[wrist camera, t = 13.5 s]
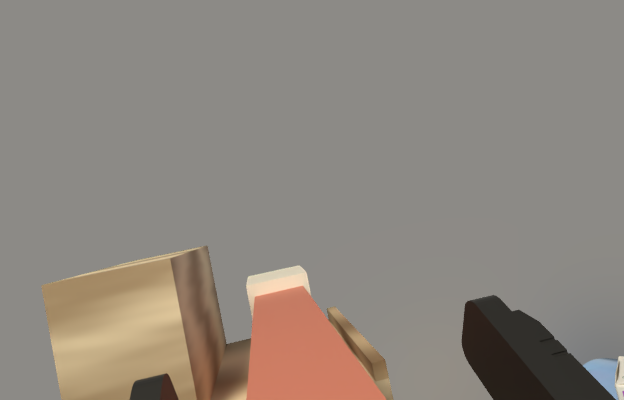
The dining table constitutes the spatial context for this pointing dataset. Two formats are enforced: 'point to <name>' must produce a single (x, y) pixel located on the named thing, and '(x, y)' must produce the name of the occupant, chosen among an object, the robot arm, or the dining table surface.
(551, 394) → the robot arm
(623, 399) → the syrup box
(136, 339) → the stand
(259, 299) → the block
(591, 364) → the dining table surface
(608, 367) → the dining table surface
